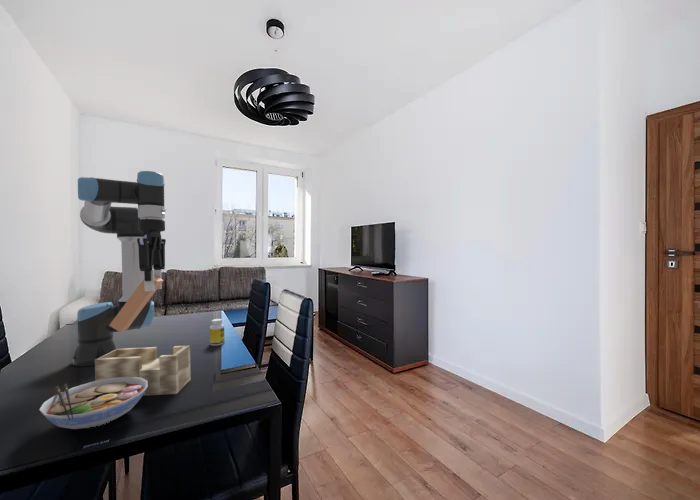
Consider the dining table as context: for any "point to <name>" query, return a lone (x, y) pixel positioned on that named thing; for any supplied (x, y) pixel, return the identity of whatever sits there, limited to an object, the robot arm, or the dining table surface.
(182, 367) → the box
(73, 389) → the ramen bowl
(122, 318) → the tan block
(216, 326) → the pill bottle
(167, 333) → the dining table surface
